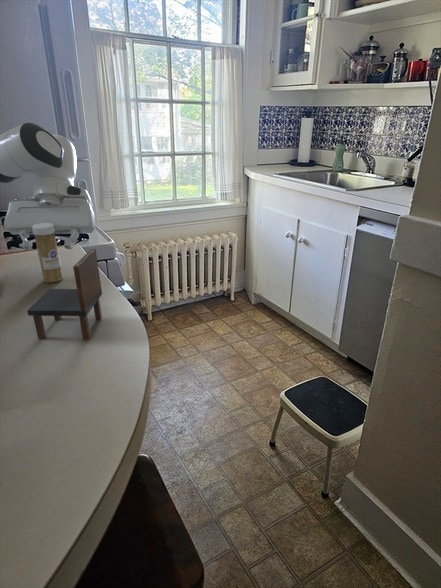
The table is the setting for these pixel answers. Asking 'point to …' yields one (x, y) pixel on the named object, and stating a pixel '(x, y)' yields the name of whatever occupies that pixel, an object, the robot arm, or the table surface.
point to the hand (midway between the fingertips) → (47, 248)
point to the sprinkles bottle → (47, 252)
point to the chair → (72, 297)
